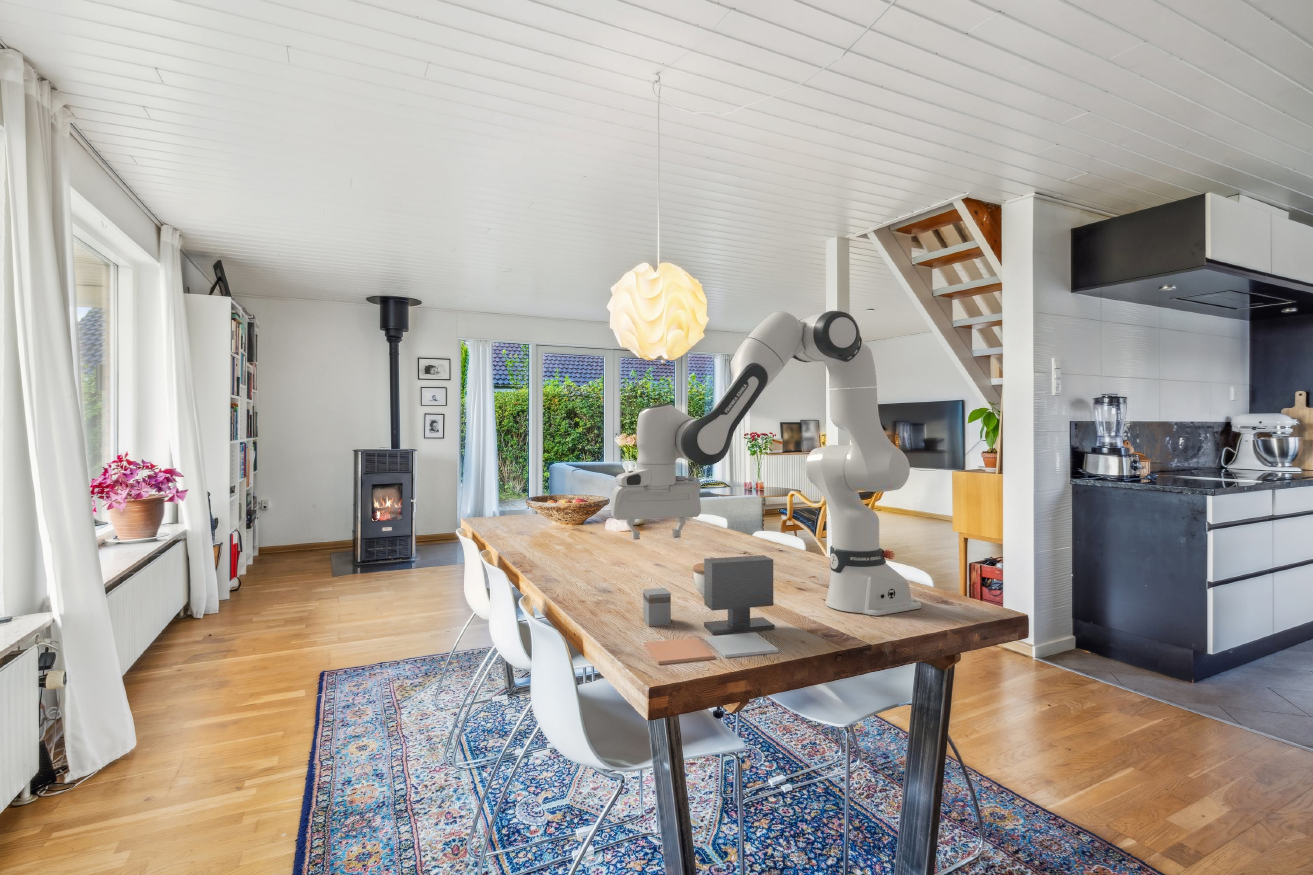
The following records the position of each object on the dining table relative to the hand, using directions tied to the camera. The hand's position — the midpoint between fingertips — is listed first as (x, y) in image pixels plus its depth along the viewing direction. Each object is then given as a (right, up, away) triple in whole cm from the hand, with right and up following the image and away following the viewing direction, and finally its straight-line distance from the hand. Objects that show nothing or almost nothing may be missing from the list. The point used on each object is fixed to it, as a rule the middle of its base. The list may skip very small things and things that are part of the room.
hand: (656, 538), depth 147 cm
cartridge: (0, -19, 0) cm, 19 cm away
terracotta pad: (+4, -19, -19) cm, 27 cm away
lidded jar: (+15, -19, +23) cm, 33 cm away
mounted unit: (+18, -19, -4) cm, 26 cm away
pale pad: (+17, -19, -16) cm, 30 cm away
